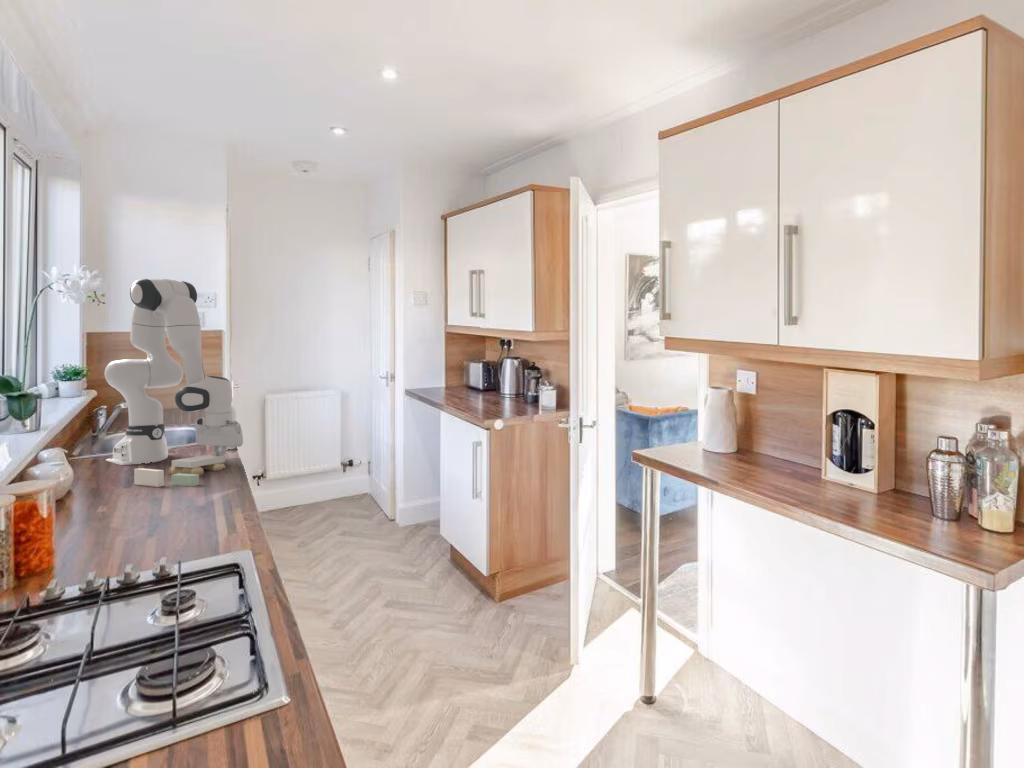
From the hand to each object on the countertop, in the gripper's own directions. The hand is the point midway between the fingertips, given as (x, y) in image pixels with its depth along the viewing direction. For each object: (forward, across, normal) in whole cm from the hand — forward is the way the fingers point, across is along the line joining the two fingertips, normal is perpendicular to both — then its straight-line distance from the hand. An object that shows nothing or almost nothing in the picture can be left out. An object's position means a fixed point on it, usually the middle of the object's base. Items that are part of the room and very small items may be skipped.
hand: (219, 458), depth 214 cm
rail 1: (+5, 0, +14) cm, 15 cm away
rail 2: (+5, 0, +5) cm, 7 cm away
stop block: (+5, -1, +27) cm, 28 cm away
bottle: (+5, +20, -20) cm, 28 cm away
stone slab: (+1, 0, +9) cm, 9 cm away
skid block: (+5, -11, +22) cm, 25 cm away
